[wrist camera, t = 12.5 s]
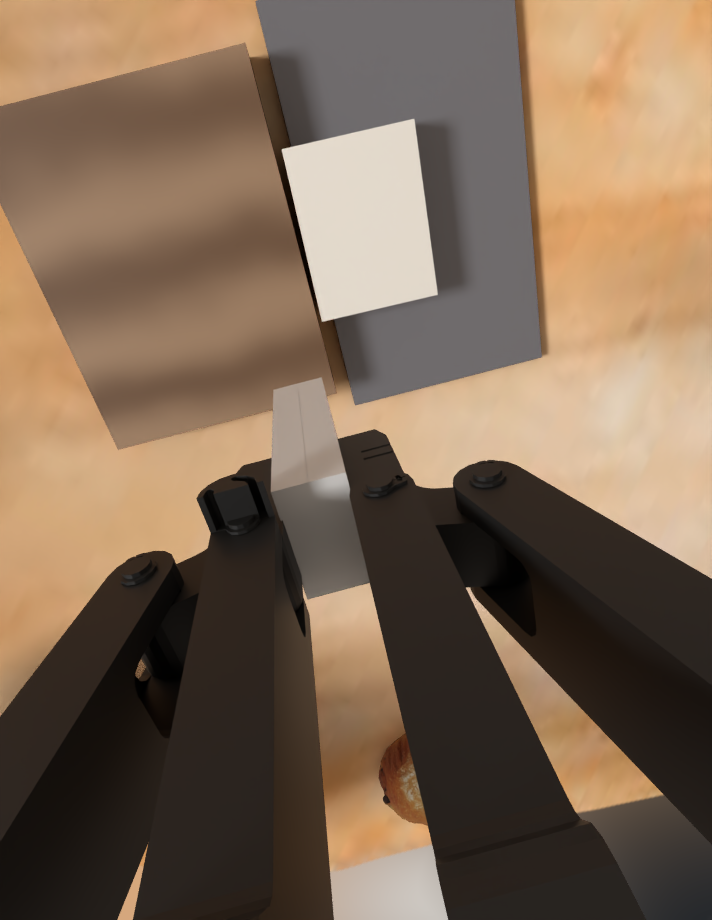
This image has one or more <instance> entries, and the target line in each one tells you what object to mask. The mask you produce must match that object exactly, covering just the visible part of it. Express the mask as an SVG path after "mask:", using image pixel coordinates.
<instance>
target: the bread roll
mask: <svg viewBox="0 0 712 920" xmlns="http://www.w3.org/2000/svg"><path fill="white" fill-rule="evenodd" d="M379 780H380V783H381V786H382V788H383V790H384V793H385V795H384V797H383V801H384V803H385V804H386V805H388V806H389V807H390V808H391V809H393V810H394V811H395V812H396V813H397V814H398V815H399V816H400V817H401V818H402V819H406V820H407V821H409V822H412V823H420V824H424V825H428V824H427V820H426V816H425V811H424V807H423V803H422V799H421V795H420V791H419V786H418V782H417V778H416V774H415V770H414V765H413V761H412V757H411V753H410V749H409V744H408V740H407V736H406V733H405V734H404V735H402V737H400V738H399V739H397V740H396V741H395V742H394V743H393V744H392V745H390V746H389V747H388V748H387V750H386V752H385V754H384V757H383V759H382V761H381V766H380V770H379Z"/></svg>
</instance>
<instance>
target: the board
mask: <svg viewBox="0 0 712 920" xmlns="http://www.w3.org/2000/svg"><path fill="white" fill-rule="evenodd" d="M0 204H1V206H2V208H3V210H4V213H5V215H6V217H7V219H8V221H9V223H10V225H11V227H12V229H13V231H14V233H15V236H16V238H17V240H18V242H19V244H20V246H21V248H22V250H23V252H24V254H25V256H26V258H27V261H28V263H29V265H30V267H31V269H32V271H33V273H34V275H35V277H36V279H37V281H38V283H39V286H40V288H41V290H42V292H43V294H44V296H45V298H46V300H47V302H48V304H49V306H50V309H51V311H52V313H53V315H54V317H55V319H56V321H57V323H58V325H59V327H60V329H61V331H62V334H63V336H64V338H65V340H66V342H67V344H68V346H69V348H70V350H71V352H72V354H73V356H74V359H75V361H76V363H77V365H78V367H79V369H80V371H81V373H82V375H83V377H84V379H85V382H86V384H87V386H88V388H89V390H90V392H91V394H92V396H93V398H94V400H95V402H96V404H97V407H98V409H99V411H100V413H101V415H102V417H103V419H104V421H105V423H106V425H107V427H108V429H109V432H110V434H111V436H112V438H113V440H114V442H115V444H116V446H117V448H118V450H119V449H123V448H127V447H131V446H134V445H138V444H142V443H146V442H150V441H154V440H158V439H162V438H165V437H169V436H173V435H177V434H181V433H185V432H189V431H193V430H197V429H200V428H204V427H208V426H212V425H216V424H220V423H224V422H228V421H231V420H235V419H239V418H243V417H247V416H251V415H255V414H259V413H262V412H266V411H270V410H273V390H275V389H279V388H282V387H286V386H290V385H294V384H298V383H301V382H305V381H309V380H313V379H317V378H321V377H322V381H323V385H324V388H325V392H326V396H328V395H332V394H336V389H335V385H334V380H333V376H332V373H331V369H330V365H329V361H328V357H327V353H326V350H325V346H324V342H323V338H322V334H321V330H320V326H319V323H318V319H317V315H316V311H315V307H314V303H313V300H312V296H311V292H310V288H309V284H308V280H307V277H306V273H305V269H304V265H303V261H302V257H301V254H300V250H299V246H298V242H297V238H296V234H295V230H294V227H293V223H292V219H291V215H290V211H289V207H288V204H287V200H286V196H285V192H284V188H283V184H282V181H281V177H280V173H279V169H278V165H277V161H276V158H275V154H274V150H273V146H272V142H271V138H270V134H269V131H268V127H267V123H266V119H265V115H264V111H263V108H262V104H261V100H260V96H259V92H258V88H257V85H256V81H255V77H254V73H253V69H252V65H251V62H250V58H249V54H248V51H247V47H246V44H245V43H243V44H239V45H235V46H231V47H227V48H223V49H220V50H216V51H212V52H208V53H204V54H200V55H196V56H193V57H189V58H185V59H181V60H177V61H173V62H169V63H166V64H162V65H158V66H154V67H150V68H146V69H142V70H139V71H135V72H131V73H127V74H123V75H119V76H115V77H112V78H108V79H104V80H100V81H96V82H92V83H89V84H85V85H81V86H77V87H73V88H69V89H65V90H62V91H58V92H54V93H50V94H46V95H42V96H38V97H35V98H31V99H27V100H23V101H19V102H15V103H11V104H8V105H4V106H0Z"/></svg>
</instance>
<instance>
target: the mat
mask: <svg viewBox="0 0 712 920" xmlns="http://www.w3.org/2000/svg"><path fill="white" fill-rule="evenodd" d="M256 6H257V10H258V14H259V18H260V22H261V26H262V30H263V34H264V38H265V43H266V47H267V51H268V55H269V59H270V63H271V67H272V71H273V75H274V79H275V83H276V87H277V91H278V95H279V99H280V103H281V107H282V111H283V115H284V119H285V124H286V128H287V132H288V136H289V140H290V144H291V147H294V146H298V145H302V144H307V143H311V142H315V141H320V140H324V139H328V138H333V137H337V136H341V135H346V134H350V133H354V132H359V131H363V130H367V129H372V128H376V127H380V126H385V125H389V124H393V123H398V122H402V121H406V120H411V119H414V120H415V128H416V135H417V143H418V150H419V158H420V165H421V173H422V180H423V188H424V195H425V203H426V210H427V218H428V225H429V233H430V240H431V247H432V255H433V262H434V270H435V277H436V285H437V292H438V295H435V296H430V297H426V298H422V299H418V300H413V301H409V302H405V303H400V304H396V305H392V306H388V307H383V308H379V309H375V310H370V311H366V312H362V313H358V314H353V315H349V316H345V317H341V318H336V319H334V322H335V326H336V330H337V334H338V338H339V342H340V346H341V350H342V354H343V358H344V363H345V367H346V371H347V375H348V379H349V383H350V387H351V391H352V395H353V399H354V403H355V405H358V404H362V403H366V402H370V401H374V400H378V399H382V398H386V397H389V396H393V395H397V394H401V393H405V392H409V391H413V390H417V389H421V388H424V387H428V386H432V385H436V384H440V383H444V382H448V381H452V380H455V379H459V378H463V377H467V376H471V375H475V374H479V373H483V372H486V371H490V370H494V369H498V368H502V367H506V366H510V365H514V364H517V363H521V362H525V361H529V360H533V359H537V358H541V357H542V354H541V341H540V328H539V315H538V301H537V288H536V275H535V262H534V248H533V235H532V222H531V208H530V195H529V182H528V169H527V155H526V142H525V129H524V116H523V102H522V89H521V76H520V63H519V49H518V36H517V23H516V10H515V0H257V1H256Z"/></svg>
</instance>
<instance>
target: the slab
mask: <svg viewBox="0 0 712 920" xmlns="http://www.w3.org/2000/svg"><path fill="white" fill-rule="evenodd" d="M282 154H283V158H284V163H285V167H286V171H287V175H288V180H289V184H290V188H291V192H292V197H293V201H294V205H295V210H296V214H297V218H298V222H299V227H300V231H301V235H302V240H303V244H304V248H305V252H306V257H307V261H308V265H309V270H310V274H311V278H312V282H313V287H314V291H315V295H316V300H317V304H318V308H319V312H320V316H321V320H322V322H323V321H328V320H332V319H336V318H341V317H345V316H349V315H353V314H358V313H362V312H366V311H370V310H375V309H379V308H383V307H388V306H392V305H396V304H400V303H405V302H409V301H413V300H418V299H422V298H426V297H430V296H435V295H438V292H437V285H436V277H435V270H434V262H433V255H432V247H431V240H430V233H429V225H428V218H427V210H426V203H425V195H424V188H423V180H422V173H421V165H420V158H419V150H418V143H417V135H416V128H415V120H414V119H411V120H406V121H402V122H398V123H393V124H389V125H385V126H380V127H376V128H372V129H367V130H363V131H359V132H354V133H350V134H346V135H341V136H337V137H333V138H328V139H324V140H320V141H315V142H311V143H307V144H302V145H298V146H294V147H289V148H285V149H282Z"/></svg>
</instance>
